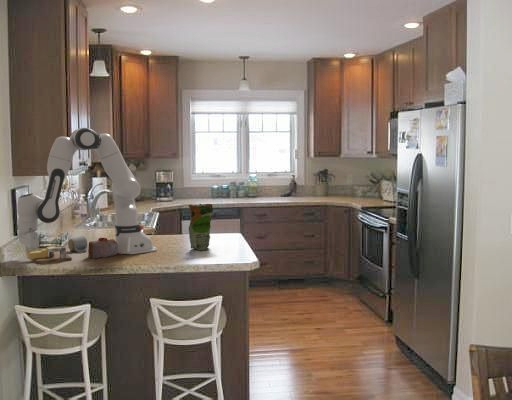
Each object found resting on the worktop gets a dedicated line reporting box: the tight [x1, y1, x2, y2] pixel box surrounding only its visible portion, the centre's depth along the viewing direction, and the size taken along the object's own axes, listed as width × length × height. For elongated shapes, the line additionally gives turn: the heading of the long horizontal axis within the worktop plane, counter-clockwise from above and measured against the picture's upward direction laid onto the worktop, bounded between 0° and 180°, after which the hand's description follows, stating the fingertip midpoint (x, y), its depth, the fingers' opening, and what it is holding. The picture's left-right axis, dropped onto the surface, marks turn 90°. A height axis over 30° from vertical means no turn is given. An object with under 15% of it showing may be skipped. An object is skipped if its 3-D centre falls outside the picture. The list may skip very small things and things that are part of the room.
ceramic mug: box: [67, 235, 89, 254], centre depth 295 cm, size 11×8×8 cm
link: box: [26, 246, 55, 260], centre depth 272 cm, size 13×5×4 cm, turn 125°
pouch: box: [188, 203, 214, 252], centre depth 297 cm, size 11×12×25 cm
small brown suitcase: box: [87, 237, 119, 260], centre depth 280 cm, size 14×8×10 cm, turn 129°
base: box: [33, 246, 72, 265], centre depth 274 cm, size 16×14×6 cm
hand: (29, 255), depth 271 cm, fingers closed
